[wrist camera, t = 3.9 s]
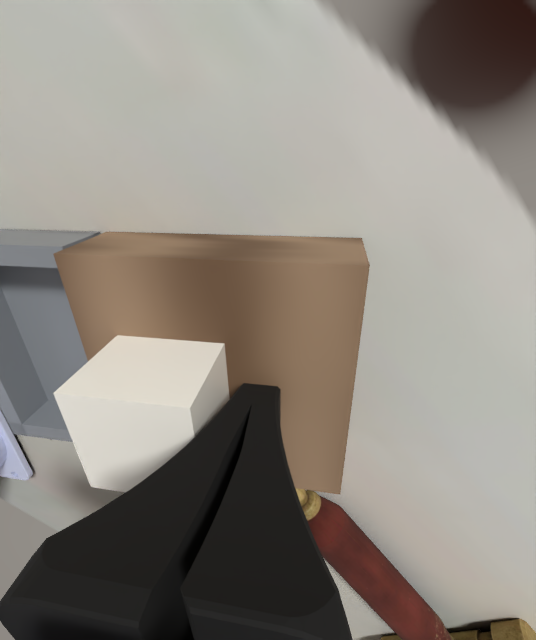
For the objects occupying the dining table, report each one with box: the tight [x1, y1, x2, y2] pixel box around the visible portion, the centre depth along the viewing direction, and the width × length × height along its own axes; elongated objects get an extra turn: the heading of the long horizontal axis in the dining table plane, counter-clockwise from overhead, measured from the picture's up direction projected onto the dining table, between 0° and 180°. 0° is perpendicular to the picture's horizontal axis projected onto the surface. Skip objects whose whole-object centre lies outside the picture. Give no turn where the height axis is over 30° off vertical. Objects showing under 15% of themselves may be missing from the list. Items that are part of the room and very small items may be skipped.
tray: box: [0, 229, 100, 442], centre depth 16 cm, size 6×10×2 cm, turn 0°
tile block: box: [53, 335, 230, 492], centre depth 11 cm, size 4×4×3 cm
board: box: [53, 232, 370, 494], centre depth 14 cm, size 10×10×3 cm
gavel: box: [295, 488, 536, 640], centre depth 20 cm, size 21×5×10 cm
